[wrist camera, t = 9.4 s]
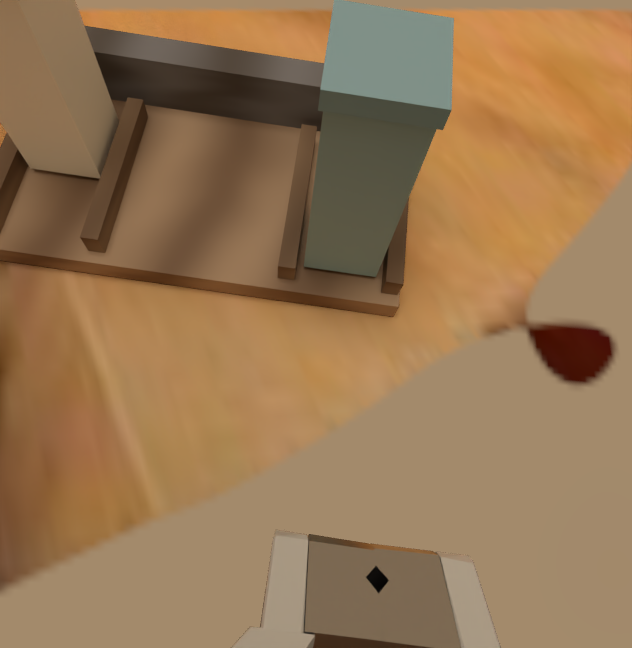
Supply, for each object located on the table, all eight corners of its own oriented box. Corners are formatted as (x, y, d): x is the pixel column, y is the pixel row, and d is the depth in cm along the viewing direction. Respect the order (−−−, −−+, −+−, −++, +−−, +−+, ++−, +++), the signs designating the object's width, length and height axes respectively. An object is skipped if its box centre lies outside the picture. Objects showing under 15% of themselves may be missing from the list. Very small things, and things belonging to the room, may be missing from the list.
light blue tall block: (300, 268, 25) (320, 89, 15) (309, 202, 26) (334, -2, 16) (378, 280, 25) (451, 109, 15) (384, 213, 26) (453, 17, 16)
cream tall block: (26, 170, 26) (-129, -63, 16) (50, 111, 27) (-78, -136, 17) (103, 181, 26) (-2, -43, 16) (123, 122, 27) (39, -117, 17)
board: (-13, 258, 25) (-64, 208, 21) (62, 76, 30) (31, 8, 26) (393, 316, 26) (414, 278, 22) (406, 129, 31) (425, 70, 27)
